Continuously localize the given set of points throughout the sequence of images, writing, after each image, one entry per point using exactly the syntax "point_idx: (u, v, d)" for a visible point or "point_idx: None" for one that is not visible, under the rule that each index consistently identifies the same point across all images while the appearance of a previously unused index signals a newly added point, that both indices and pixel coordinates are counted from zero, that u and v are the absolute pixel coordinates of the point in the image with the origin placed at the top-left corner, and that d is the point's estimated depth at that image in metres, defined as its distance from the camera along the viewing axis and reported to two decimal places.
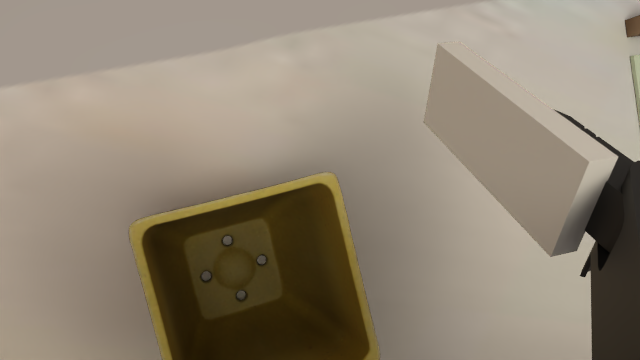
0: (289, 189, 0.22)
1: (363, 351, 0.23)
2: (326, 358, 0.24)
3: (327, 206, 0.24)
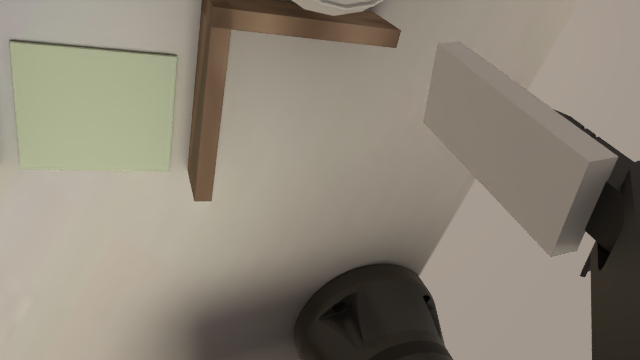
0: None
1: None
2: None
3: None
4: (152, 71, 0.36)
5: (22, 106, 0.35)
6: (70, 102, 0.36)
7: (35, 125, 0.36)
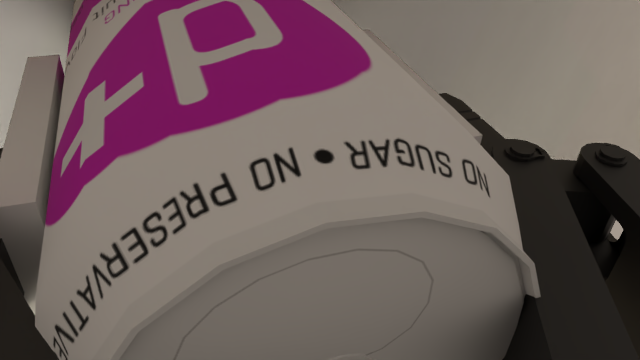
0: None
1: None
2: None
3: None
4: None
5: None
6: None
7: None
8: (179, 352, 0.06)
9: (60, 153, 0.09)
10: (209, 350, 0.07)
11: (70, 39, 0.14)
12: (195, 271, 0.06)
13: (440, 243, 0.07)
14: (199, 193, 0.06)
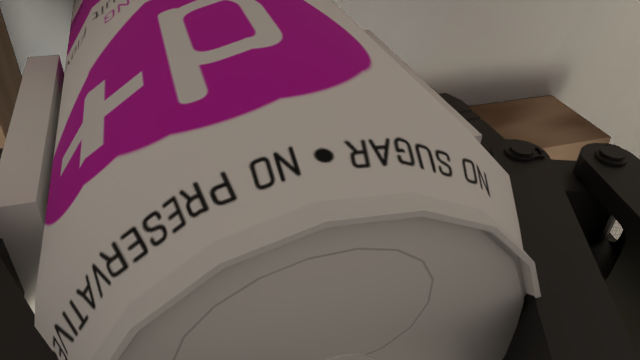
0: None
1: None
2: None
3: None
4: None
5: None
6: None
7: None
8: (179, 350, 0.06)
9: (60, 152, 0.09)
10: (209, 349, 0.07)
11: (70, 39, 0.14)
12: (194, 270, 0.06)
13: (439, 242, 0.07)
14: (197, 192, 0.06)
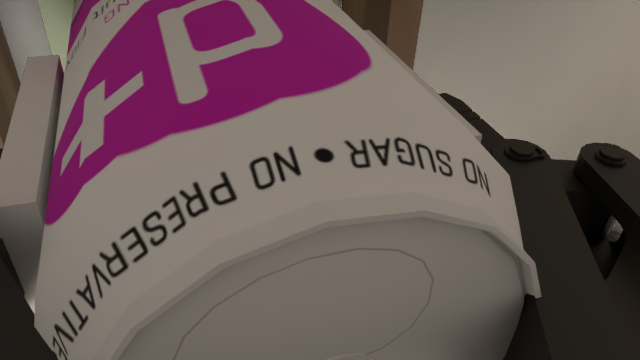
0: None
1: None
2: None
3: None
4: None
5: None
6: None
7: None
8: (179, 351, 0.06)
9: (60, 152, 0.09)
10: (209, 349, 0.07)
11: (70, 38, 0.14)
12: (195, 270, 0.06)
13: (440, 243, 0.07)
14: (198, 192, 0.06)
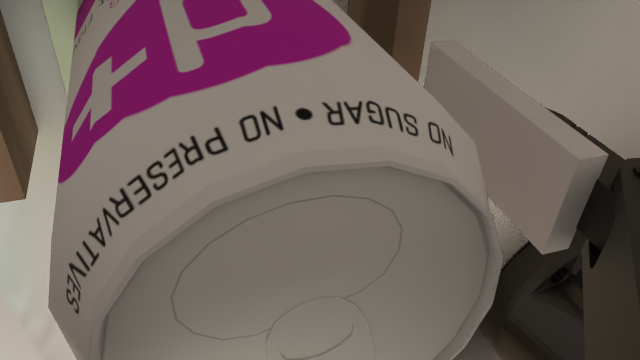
0: None
1: None
2: None
3: None
4: None
5: (58, 10, 0.18)
6: None
7: None
8: (178, 285, 0.07)
9: (70, 122, 0.10)
10: (204, 284, 0.08)
11: (76, 25, 0.15)
12: (191, 208, 0.07)
13: (407, 193, 0.08)
14: (195, 144, 0.07)
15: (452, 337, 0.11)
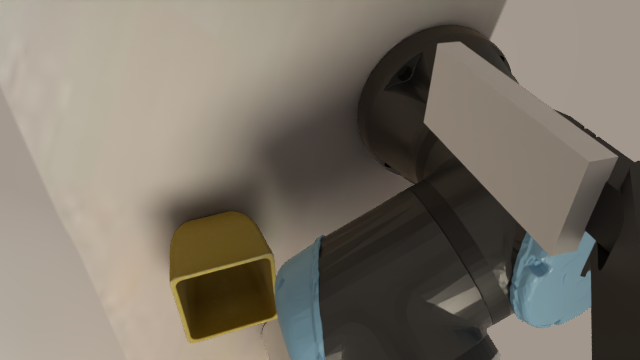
0: (178, 297, 0.44)
1: None
2: (266, 259, 0.47)
3: None
4: None
5: None
6: None
7: None
8: None
9: None
10: None
11: None
12: None
13: None
14: None
15: None
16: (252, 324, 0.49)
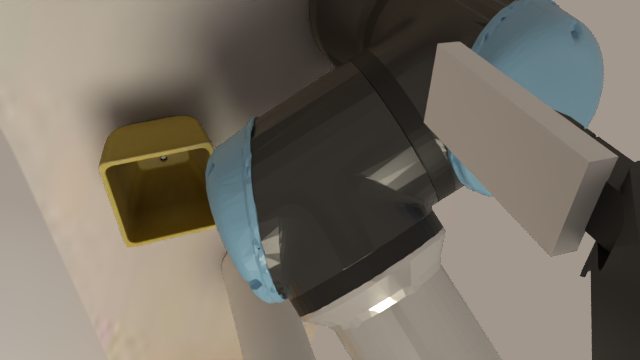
0: (109, 187, 0.41)
1: None
2: (207, 155, 0.44)
3: None
4: None
5: None
6: None
7: None
8: None
9: None
10: None
11: None
12: None
13: None
14: None
15: None
16: (195, 230, 0.46)
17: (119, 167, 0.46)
